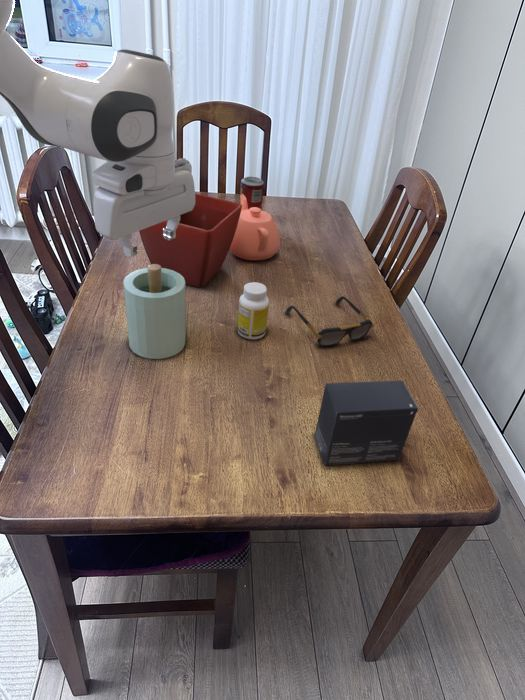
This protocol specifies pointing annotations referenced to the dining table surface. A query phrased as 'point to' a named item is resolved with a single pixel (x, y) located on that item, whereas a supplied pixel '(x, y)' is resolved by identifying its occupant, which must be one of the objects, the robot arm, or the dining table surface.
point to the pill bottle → (253, 311)
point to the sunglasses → (339, 328)
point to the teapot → (255, 234)
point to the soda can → (252, 191)
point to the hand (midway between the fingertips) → (150, 246)
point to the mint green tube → (155, 314)
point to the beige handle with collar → (155, 278)
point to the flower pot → (195, 240)
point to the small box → (364, 422)
